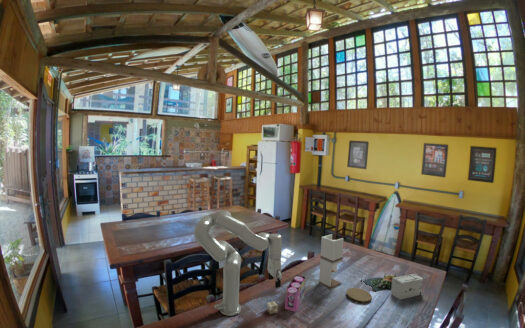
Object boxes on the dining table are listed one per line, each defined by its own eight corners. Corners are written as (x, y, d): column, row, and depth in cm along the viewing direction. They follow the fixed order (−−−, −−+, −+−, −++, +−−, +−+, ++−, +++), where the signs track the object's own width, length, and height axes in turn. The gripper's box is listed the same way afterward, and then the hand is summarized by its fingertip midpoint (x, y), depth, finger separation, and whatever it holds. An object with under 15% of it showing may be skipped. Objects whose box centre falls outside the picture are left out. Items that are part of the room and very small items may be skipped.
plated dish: (390, 274, 219) (390, 265, 218) (420, 292, 192) (421, 282, 192) (354, 279, 207) (354, 270, 207) (381, 299, 181) (381, 289, 180)
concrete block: (412, 290, 193) (414, 263, 191) (423, 297, 185) (425, 268, 183) (390, 295, 185) (392, 267, 184) (400, 302, 177) (402, 272, 176)
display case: (331, 290, 189) (334, 241, 186) (318, 283, 197) (321, 236, 194) (340, 285, 196) (343, 238, 193) (328, 279, 204) (331, 234, 202)
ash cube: (270, 314, 159) (270, 306, 159) (267, 309, 163) (267, 302, 163) (277, 312, 161) (277, 305, 161) (273, 308, 165) (274, 301, 165)
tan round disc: (355, 306, 171) (355, 302, 170) (341, 293, 186) (341, 289, 186) (376, 303, 175) (377, 299, 175) (361, 290, 190) (361, 286, 190)
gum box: (295, 313, 161) (296, 293, 160) (283, 310, 164) (284, 290, 163) (305, 295, 181) (306, 276, 180) (294, 292, 184) (295, 274, 183)
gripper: (263, 250, 166) (262, 277, 167) (275, 262, 150) (274, 291, 152) (274, 249, 169) (273, 275, 170) (287, 260, 153) (286, 289, 154)
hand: (274, 283), depth 161 cm, fingers open, 9 cm apart
